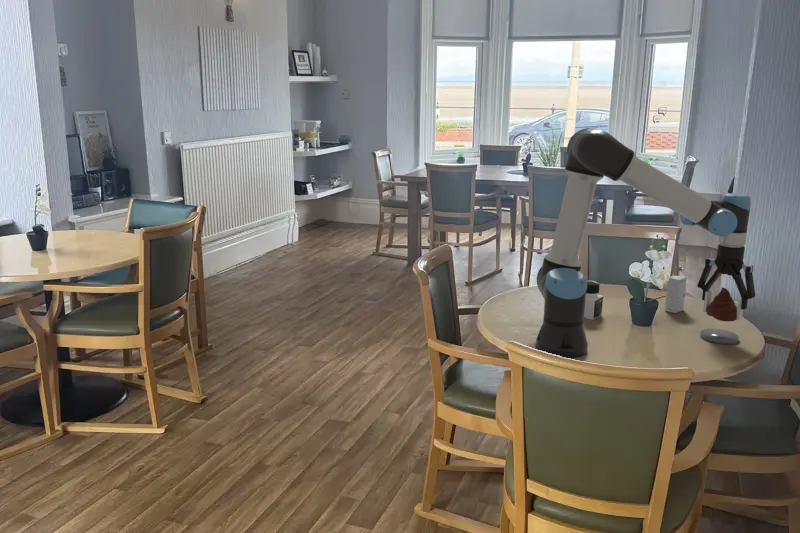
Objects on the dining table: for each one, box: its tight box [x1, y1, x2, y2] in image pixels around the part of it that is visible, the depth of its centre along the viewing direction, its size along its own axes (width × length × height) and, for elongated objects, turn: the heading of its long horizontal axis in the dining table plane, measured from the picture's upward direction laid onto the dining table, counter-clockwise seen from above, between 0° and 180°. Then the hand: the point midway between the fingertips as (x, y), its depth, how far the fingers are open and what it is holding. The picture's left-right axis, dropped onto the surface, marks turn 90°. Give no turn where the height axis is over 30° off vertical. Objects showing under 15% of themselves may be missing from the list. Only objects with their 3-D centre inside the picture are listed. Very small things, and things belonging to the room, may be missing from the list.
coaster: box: [699, 328, 739, 345], centre depth 219 cm, size 11×11×1 cm
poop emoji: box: [705, 287, 738, 322], centre depth 216 cm, size 10×8×9 cm
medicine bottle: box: [584, 280, 604, 321], centre depth 238 cm, size 7×7×12 cm
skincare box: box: [664, 274, 687, 314], centre depth 245 cm, size 6×4×12 cm
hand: (722, 314), depth 218 cm, fingers closed on poop emoji, 9 cm apart
